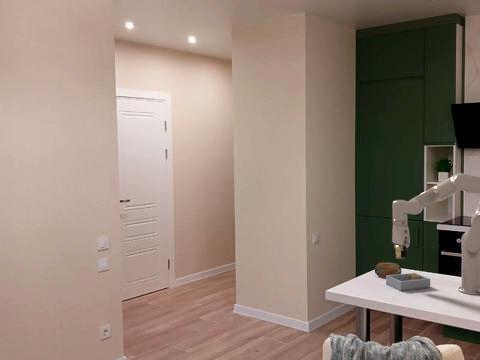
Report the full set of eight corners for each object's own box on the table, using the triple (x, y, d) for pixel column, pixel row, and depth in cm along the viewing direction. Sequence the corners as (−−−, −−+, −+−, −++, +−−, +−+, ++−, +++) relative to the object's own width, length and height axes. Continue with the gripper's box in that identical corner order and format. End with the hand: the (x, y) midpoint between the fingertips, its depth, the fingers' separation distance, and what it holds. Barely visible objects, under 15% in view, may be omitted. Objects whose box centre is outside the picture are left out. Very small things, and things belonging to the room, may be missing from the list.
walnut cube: (421, 284, 265) (421, 275, 265) (413, 285, 264) (413, 276, 263) (415, 282, 270) (415, 273, 270) (407, 283, 269) (407, 274, 268)
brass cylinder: (407, 258, 262) (407, 245, 262) (399, 259, 261) (399, 246, 260) (402, 256, 267) (401, 244, 267) (394, 257, 266) (393, 244, 265)
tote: (430, 288, 261) (430, 278, 261) (400, 291, 257) (400, 281, 256) (414, 281, 275) (414, 272, 275) (386, 284, 270) (386, 275, 270)
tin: (374, 276, 287) (374, 262, 287) (374, 275, 290) (374, 261, 290) (401, 278, 283) (401, 264, 282) (401, 277, 286) (401, 262, 285)
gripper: (415, 224, 256) (416, 259, 257) (397, 220, 272) (397, 253, 273) (403, 225, 254) (404, 260, 255) (385, 221, 270) (385, 254, 271)
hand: (400, 256), depth 264 cm, fingers closed on brass cylinder, 5 cm apart
